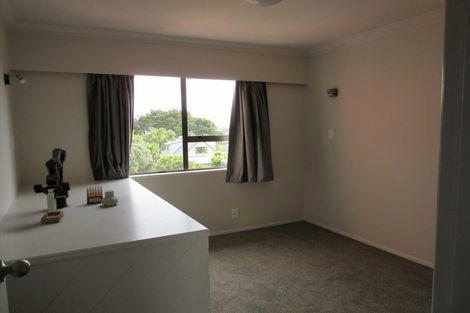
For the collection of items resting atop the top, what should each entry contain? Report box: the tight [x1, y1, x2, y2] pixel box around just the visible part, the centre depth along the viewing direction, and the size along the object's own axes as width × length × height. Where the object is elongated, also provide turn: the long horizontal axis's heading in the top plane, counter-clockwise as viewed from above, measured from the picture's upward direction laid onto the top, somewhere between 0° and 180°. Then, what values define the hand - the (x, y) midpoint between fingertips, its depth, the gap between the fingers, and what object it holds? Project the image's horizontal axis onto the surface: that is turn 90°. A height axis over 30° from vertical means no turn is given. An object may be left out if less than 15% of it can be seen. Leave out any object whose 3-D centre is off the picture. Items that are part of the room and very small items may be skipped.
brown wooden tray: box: [40, 210, 64, 225], centre depth 192 cm, size 16×9×3 cm, turn 20°
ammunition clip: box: [86, 185, 104, 205], centre depth 234 cm, size 11×2×12 cm, turn 114°
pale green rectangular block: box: [46, 191, 57, 212], centre depth 192 cm, size 9×3×10 cm, turn 20°
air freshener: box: [100, 189, 119, 207], centre depth 227 cm, size 11×8×10 cm
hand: (51, 199), depth 191 cm, fingers closed on pale green rectangular block, 3 cm apart
